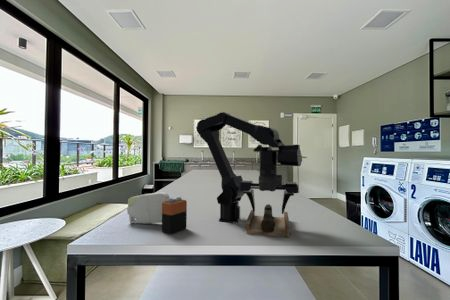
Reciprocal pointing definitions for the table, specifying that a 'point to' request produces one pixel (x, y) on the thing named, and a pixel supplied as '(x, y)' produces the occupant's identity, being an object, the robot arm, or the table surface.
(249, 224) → the tool cradle
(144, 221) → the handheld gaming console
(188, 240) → the table surface
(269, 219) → the hand tool
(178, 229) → the battery
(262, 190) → the robot arm
